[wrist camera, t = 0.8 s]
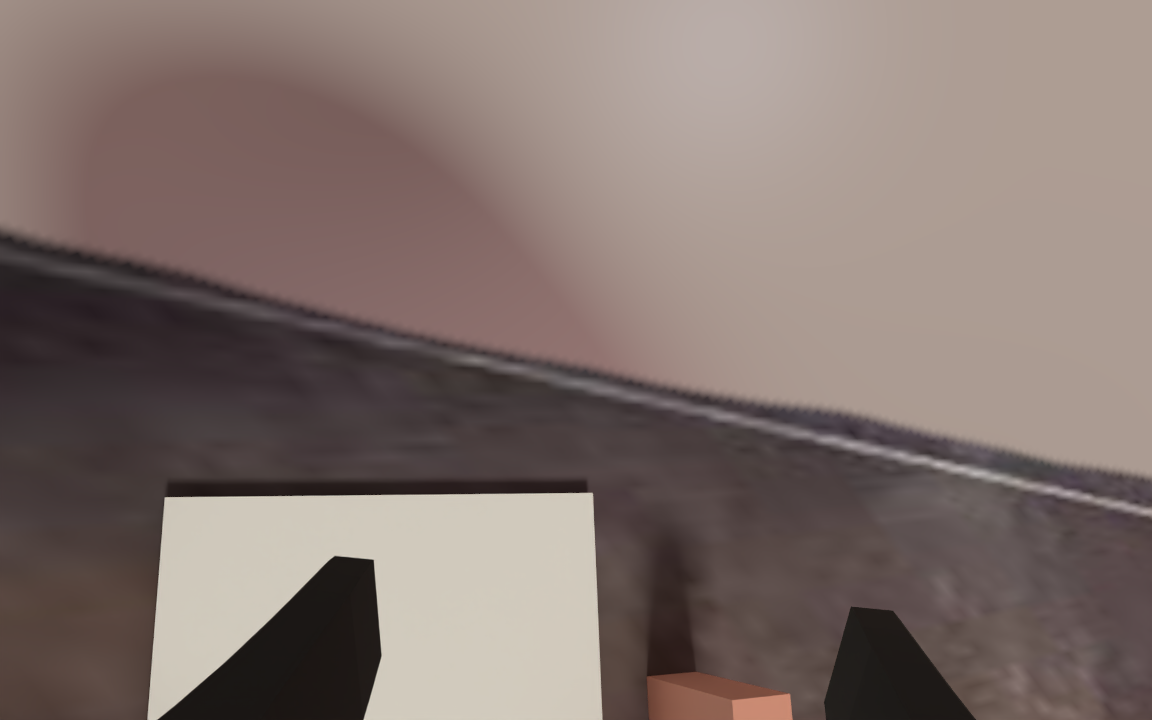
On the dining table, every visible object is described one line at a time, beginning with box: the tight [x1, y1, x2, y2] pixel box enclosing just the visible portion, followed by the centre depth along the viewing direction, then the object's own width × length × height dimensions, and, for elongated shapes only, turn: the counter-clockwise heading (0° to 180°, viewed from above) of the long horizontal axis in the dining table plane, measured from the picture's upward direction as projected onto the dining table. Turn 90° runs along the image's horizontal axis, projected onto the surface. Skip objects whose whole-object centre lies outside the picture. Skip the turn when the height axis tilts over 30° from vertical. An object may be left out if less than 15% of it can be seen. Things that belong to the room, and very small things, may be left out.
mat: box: [147, 493, 602, 720], centre depth 26 cm, size 14×14×1 cm
